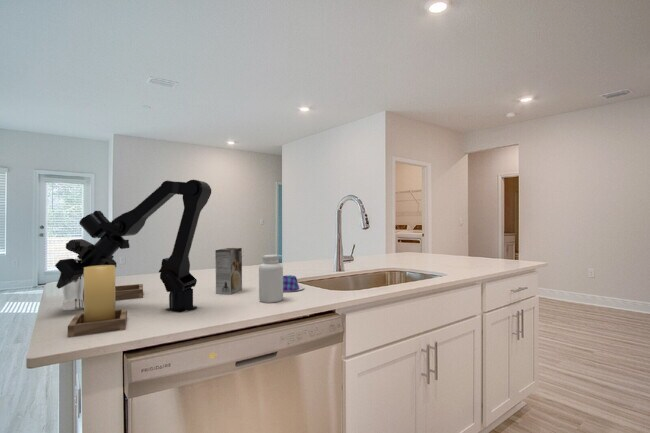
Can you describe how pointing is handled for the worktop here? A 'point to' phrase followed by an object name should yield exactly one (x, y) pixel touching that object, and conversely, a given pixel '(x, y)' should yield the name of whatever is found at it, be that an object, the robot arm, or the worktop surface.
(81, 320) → the brown square tray piece
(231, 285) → the coffee box
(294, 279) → the plaid hat
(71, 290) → the beer glass
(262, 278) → the pill bottle
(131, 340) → the worktop surface
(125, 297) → the empty pocket
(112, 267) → the cream pillar candle
